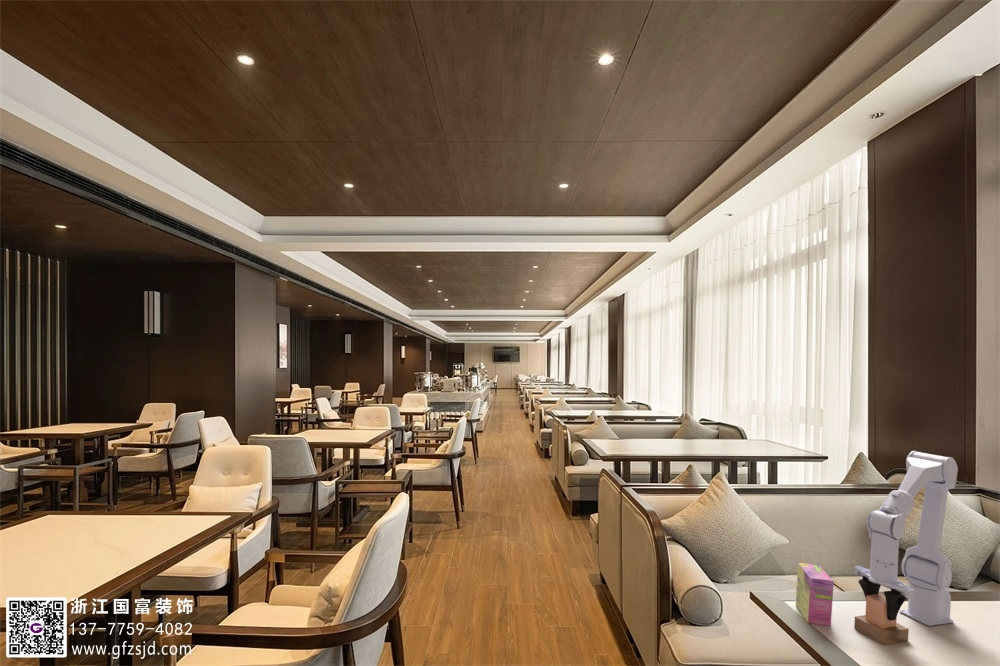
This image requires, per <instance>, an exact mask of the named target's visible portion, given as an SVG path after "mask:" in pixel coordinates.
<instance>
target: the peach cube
mask: <svg viewBox="0 0 1000 666" xmlns="http://www.w3.org/2000/svg"><path fill="white" fill-rule="evenodd" d="M865 615H866V617H865V619H866V620H868V621H870V622H871V623H873V624H875V625H877V626H879V627H881V628H888V627H894V626H896V623H897V620H898V619H897V617H898V616H897V617H896V620H891V621H890V620H888V619H887V603H886V598H885V595H883V594H881V593H878V594H874V595H867V596H866V598H865Z"/></svg>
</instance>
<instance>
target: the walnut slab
mask: <svg viewBox="0 0 1000 666" xmlns="http://www.w3.org/2000/svg"><path fill="white" fill-rule="evenodd" d="M865 617H866V614H864V615H859V616H858V615H857V616H854V624H853V625H854V630H856V631H858V632H859V633H862V634H864V635H866V636H868V637H869V638H871V639H873V640H874V639H875V640H874V641H876V640H877V641H876V642H878V641H879V642H878V643H880V644H881V645H884V646H886V645H893V644H899V643H904V642H909V632H910V631H909V630H910V629H909V627H906V626H904V625H902V624H900V623H898V622H896V626H894V627H888V628H881V627H879V626H877V625H875V624H873V623H871V622H870V621H868V620H866V619H865Z"/></svg>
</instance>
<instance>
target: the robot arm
mask: <svg viewBox="0 0 1000 666" xmlns="http://www.w3.org/2000/svg"><path fill="white" fill-rule="evenodd" d="M905 465H906V474H905V476H904V478H903V479H902V481H901V483H900V485H899V487H898V489H897V490H896V489H893V490H891V491H890V492H889V494H888V495H887V497H886V498H885V499H884V501H883V502H882V504H881V506H880V507H879V508H878V509H876V510H873V511H872V510H871V512H870V513H869V514H868V516H867V517H868V518H867V521H866V527H867V530H868V537H869V539H870V540H871V542H870V545H871V546H870V559H869V561H870V562H869V563H870V564H869V568H865V567H863V566H861V565H856V566H854V567H853V569H854V570H853V574H854V575H856V576H859V577H861V578H860V579H858V584H859V586H860V589H862V592H863V595H864V597H865V599H866V596H867V595H874V594H880V589H881V586H882V587H884V588H887V589H889V590H884V591H883V594H884V596H885V598H886V603H887V619H888V620H890V621H891V620H896V617H898V614H899V612H900V613H901V614H903V615H905V616H907V617H909V618H912V619H914V620H915V621H918V622H919V623H922V624H923V625H926V626H929V627H931V626H937V625H938V626H939V625H943V624H944V625H945V624H951V623H954V619H951V606H952V604H951V603H952V596H951V594H950V590H949V589H948V588H949V587H950V586H951V584H952V580H953V573H952V561H951V559H949V558H948V557H947V556H946V554H945V553H943V552H942V550H941V544H942V538H943V530H944V522H945V516H946V508H947V500H948V494H949V490H952V489H955V488H956V484H957V477H958V471H959V467H958V465H957V461H956V460H955V458H954V457H951V456H943V455H938V454H937V455H936V454H931V453H926V452H921V451H918V450H911V452H909V453H908V455H907V456H906V460H905ZM923 488H924V494H923V500H922V507H921V514H920V515H921V516H920V523H919V530H918V536H917V543H916V545H914V546H910V547H908V548H906V550H905V553H904V555H903V559H902V561H901V572H902V574H903V575H904V577H906V582H907V581H908V585H906V584H905V583H903V582H901V581H900V580H898V571H899V570H898V569H899V566H898V565H899V547H900V546H899V545H900V539H901V538H902V537H903V536H904V533H905V530H906V525H907V518H908V517H909V515H910V514H911V512H912V511H913V510H914V507H915V506H916V501H915V500H914V498H915V497H916V496H917V494H918V493H920V491H921V490H922V489H923ZM907 599H908V603H907V608H906V609H905V608H904V609H901V607H902V606H903V604H904V603H905V602H906V600H907ZM896 621H897V620H896Z"/></svg>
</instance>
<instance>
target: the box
mask: <svg viewBox="0 0 1000 666" xmlns="http://www.w3.org/2000/svg"><path fill="white" fill-rule="evenodd" d="M796 576H797V577H796V590H795V592H796V594H795V606H796V607H797V608H798V610H799V612H800V613H801V615H802V616H803V618H804V619H805V621H806V623H808V624H812V625H818V626H819V625H820V626H825V627H826V625H827V627H831V626H832V614H833V613H832V612H833V598H834V583H835V581H834V580H833V579H832V578H831V576H830V575H828V573H827V572H826V571H825V570H824V569H823V568H822V566H821V565H817V564H811V563H804V562H798V563H797V575H796Z"/></svg>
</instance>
